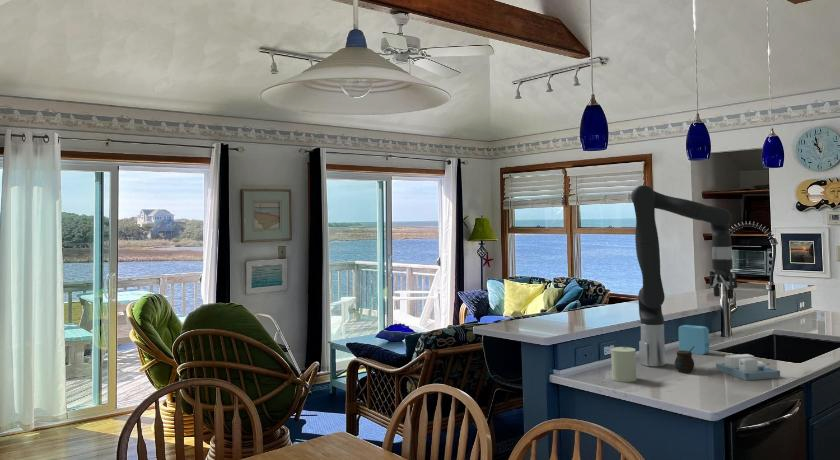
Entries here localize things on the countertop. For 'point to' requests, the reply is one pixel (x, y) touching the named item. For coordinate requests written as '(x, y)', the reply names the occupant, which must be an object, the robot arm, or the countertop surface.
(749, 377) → the dock
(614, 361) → the can
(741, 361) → the power adapter
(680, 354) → the mate gourd
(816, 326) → the countertop surface
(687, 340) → the light blue square block
